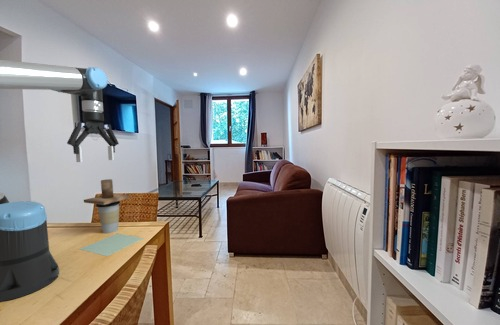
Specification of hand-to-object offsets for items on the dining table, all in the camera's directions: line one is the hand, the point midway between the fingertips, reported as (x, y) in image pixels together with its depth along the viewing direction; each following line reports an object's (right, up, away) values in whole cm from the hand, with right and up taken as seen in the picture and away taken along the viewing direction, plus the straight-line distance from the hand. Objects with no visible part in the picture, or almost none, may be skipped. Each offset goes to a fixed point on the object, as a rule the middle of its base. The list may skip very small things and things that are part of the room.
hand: (96, 161), depth 99 cm
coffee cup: (+3, -33, +5) cm, 34 cm away
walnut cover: (+3, -18, +4) cm, 18 cm away
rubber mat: (+13, -34, -9) cm, 37 cm away
